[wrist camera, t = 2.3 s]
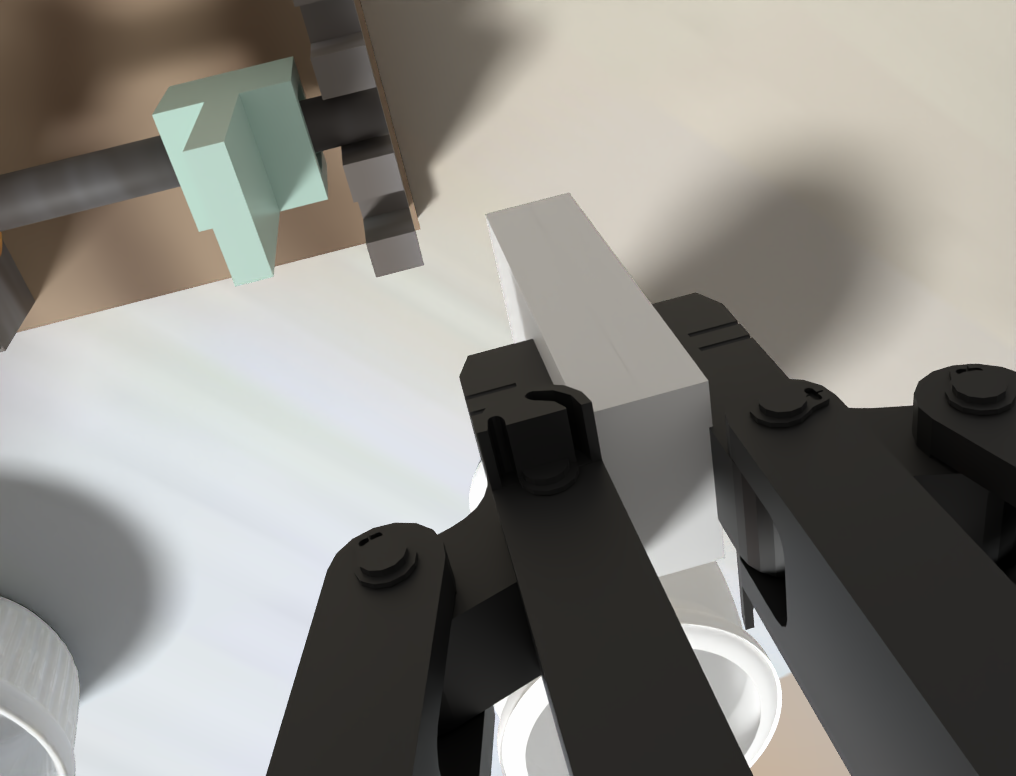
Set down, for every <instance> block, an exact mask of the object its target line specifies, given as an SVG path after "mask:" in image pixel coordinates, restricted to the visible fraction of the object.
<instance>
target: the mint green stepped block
mask: <svg viewBox="0 0 1016 776" xmlns="http://www.w3.org/2000/svg"><path fill="white" fill-rule="evenodd" d="M305 99H306V96H305V93H304V89H303V86H302V83H301V80H300V76H299V73H298V70H297V67H296V63H295V60H294V57H293V56H292V57H288V58H284V59H279V60H275V61H271V62H267V63H263V64H259V65H255V66H251V67H247V68H243V69H239V70H235V71H230V72H226V73H222V74H218V75H214V76H210V77H206V78H202V79H198V80H194V81H190V82H185V83H181V84H177V85H173V86H169V88H168V89H167V91H166V92H165V94H164V96H163V97H162V99H161V101H160V102H159V104H158V106H157V107H156V109H155V111H154V112H153V114H152V116H153V119H154V121H155V124H156V126H157V129H158V131H159V134H160V136H161V139H162V141H163V144H164V146H165V149H166V151H167V154H168V156H169V159H170V161H171V164H172V166H173V168H174V171H175V173H176V176H177V178H178V181H179V183H180V186H181V188H182V191H183V193H184V196H185V198H186V201H187V203H188V206H189V208H190V211H191V213H192V216H193V218H194V221H195V223H196V226H197V228H198V231H199V232H201V231H205V230H209V229H213V231H214V233H215V236H216V238H217V241H218V243H219V246H220V249H221V251H222V254H223V256H224V259H225V261H226V264H227V266H228V269H229V271H230V274H231V277H232V279H233V282H234V284H235V287H236V286H240V285H243V284H247V283H251V282H255V281H259V280H263V279H267V278H271V277H273V276H274V266H275V256H276V246H277V236H278V225H279V215H280V211H284V210H288V209H292V208H296V207H300V206H304V205H308V204H312V203H315V202H319V201H323V200H327V199H328V183H327V163H326V160H325V157H324V154H323V151H320V152H316V153H315V151H314V148H313V144H312V141H311V138H310V135H309V132H308V129H307V125H306V122H305V119H304V116H303V113H302V109H301V106H300V103H299V101H301V100H305Z"/></svg>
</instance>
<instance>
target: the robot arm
mask: <svg viewBox="0 0 1016 776" xmlns="http://www.w3.org/2000/svg"><path fill="white" fill-rule="evenodd" d="M485 216H486V220H487V225H488V229H489V234H490V238H491V243H492V247H493V252H494V256H495V261H496V265H497V270H498V274H499V279H500V283H501V288H502V292H503V297H504V301H505V306H506V310H507V315H508V319H509V324H510V328H511V333H512V337H513V342H514V344H511V345H507V346H503V347H499V348H496V349H492V350H488V351H484V352H481V353H477V354H473V355H469V356H468V357H467V360H466V362H465V364H464V367H463V369H462V371H461V374H460V376H459V378H460V381H461V385H462V389H463V393H464V396H465V400H466V404H467V408H468V412H469V415H470V419H471V423H472V427H473V430H474V434H475V438H476V442H477V446H478V449H479V453H480V457H481V460H482V464H483V468H484V471H485V475H486V478H487V488H486V492H485V495H484V497H483V499H482V500H481V502H480V503H479V505H478V506H477V508H476V509H475V510H473V511H472V512H471V513H470V514H469V515H468V516H467V517H466V518H465V519H463V520H462V521H460V522H459V523H457V524H456V525H454V526H453V527H451V528H449V529H447V530H445V531H444V532H442V533H440V534H438V535H437V534H436V533H435V531H434V530H432V529H430V528H427V527H425V526H422V525H419V524H417V523H392V524H388V525H384V526H380V527H376V528H372V529H371V530H369V531H367V532H365V533H363V534H361V535H359V536H357V537H355V538H353V539H352V540H351V541H350V542H349V543H348V544H346V545H345V546H344V547H343V548H342V549H341V550H340V551H339V552H338V553H337V554H336V555H335V557H334V559H333V561H332V563H331V565H330V566H329V568H328V570H327V573H326V576H325V580H324V583H323V586H322V590H321V593H320V596H319V600H318V603H317V606H316V610H315V613H314V617H313V620H312V623H311V627H310V630H309V633H308V637H307V640H306V643H305V647H304V650H303V653H302V657H301V660H300V663H299V667H298V670H297V673H296V677H295V680H294V683H293V687H292V690H291V693H290V697H289V700H288V704H287V707H286V710H285V714H284V717H283V720H282V724H281V727H280V730H279V734H278V737H277V740H276V744H275V747H274V750H273V754H272V757H271V760H270V764H269V767H268V770H267V774H266V776H491V764H492V750H493V737H494V723H495V713H494V706H493V705H494V704H496V703H497V702H499V701H501V700H502V699H504V698H505V697H507V696H509V695H510V694H512V693H513V692H515V691H517V690H518V689H520V688H521V687H523V686H525V685H526V684H528V683H529V682H531V681H533V680H534V679H536V678H537V677H539V676H541V677H542V681H543V684H544V688H545V691H546V695H547V698H548V702H549V705H550V709H551V713H552V716H553V720H554V723H555V727H556V730H557V734H558V737H559V741H560V744H561V748H562V752H563V755H564V759H565V762H566V766H567V769H568V773H569V776H753V774H752V772H751V770H750V768H749V766H748V763H747V761H746V759H745V757H744V755H743V753H742V751H741V749H740V747H739V745H738V743H737V741H736V738H735V736H734V734H733V732H732V730H731V728H730V726H729V724H728V722H727V720H726V718H725V715H724V713H723V711H722V709H721V707H720V705H719V703H718V701H717V699H716V697H715V695H714V692H713V690H712V688H711V686H710V684H709V682H708V680H707V678H706V676H705V674H704V672H703V670H702V667H701V665H700V663H699V661H698V659H697V657H696V655H695V653H694V651H693V649H692V647H691V644H690V642H689V640H688V638H687V636H686V634H685V632H684V630H683V628H682V626H681V624H680V622H679V619H678V617H677V615H676V613H675V611H674V609H673V607H672V605H671V603H670V601H669V599H668V596H667V594H666V592H665V590H664V588H663V586H662V584H661V582H660V580H659V578H658V577H660V576H664V575H667V574H671V573H674V572H678V571H681V570H685V569H688V568H692V567H695V566H699V565H702V564H706V563H710V562H713V561H717V560H720V559H724V558H725V552H724V541H723V531H722V527H723V528H724V530H725V532H726V533H727V535H728V537H729V538H730V540H731V542H732V543H733V545H734V547H735V548H736V551H737V563H738V575H739V586H740V598H741V610H742V618H743V621H744V625H745V629H746V630H747V629H750V628H754V618H753V608H755V610H756V611H757V613H758V615H759V617H760V618H761V620H762V622H763V623H764V625H765V627H766V629H767V630H768V632H769V634H770V636H771V637H772V639H773V641H774V643H775V644H776V646H777V648H778V650H779V651H780V653H781V655H782V656H783V658H784V660H785V662H786V663H787V665H788V667H789V669H790V670H791V672H792V674H793V676H794V677H795V679H796V681H797V682H798V684H799V686H800V687H801V689H802V691H803V693H804V695H805V696H806V698H807V700H808V702H809V703H810V705H811V707H812V708H813V710H814V712H815V714H816V715H817V717H818V719H819V721H820V722H821V724H822V726H823V727H824V729H825V731H826V733H827V734H828V736H829V738H830V740H831V741H832V743H833V745H834V747H835V748H836V750H837V752H838V754H839V755H840V757H841V759H842V760H843V762H844V764H845V766H846V767H847V769H848V771H849V773H850V774H851V776H1016V372H1015V371H1012V370H1009V369H1006V368H1003V367H999V366H990V365H982V364H967V365H953V366H950V367H946V368H943V369H940V370H936V371H933V372H931V373H930V374H929V375H927V376H926V377H924V378H923V379H922V380H920V381H919V382H918V385H917V387H916V390H915V392H914V400H913V406H900V407H884V408H848V407H847V406H846V405H845V404H844V403H843V402H842V401H841V400H840V399H839V398H838V397H837V396H836V395H835V394H834V393H832V392H831V391H829V390H828V389H826V388H825V387H823V386H822V385H818V384H815V383H812V382H808V381H805V380H796V379H789V378H788V377H787V376H786V375H785V374H784V372H783V371H782V370H781V369H780V368H779V367H778V366H777V365H776V363H775V362H774V361H773V360H772V359H771V358H770V357H769V356H768V355H767V353H766V352H765V351H764V350H763V349H762V348H761V347H760V346H759V344H758V343H757V342H756V341H755V340H754V339H753V338H750V335H749V333H748V332H747V331H746V330H745V329H744V328H743V327H742V325H741V324H738V322H737V320H736V319H735V318H734V316H733V315H732V314H731V313H730V312H729V311H728V310H727V309H726V307H725V306H724V305H723V304H722V303H719V302H717V301H714V300H712V299H710V298H707V297H705V296H703V295H700V294H698V293H693V294H689V295H685V296H681V297H678V298H674V299H670V300H666V301H663V302H659V303H655V304H651V303H650V301H649V300H648V298H647V297H646V296H645V294H644V293H643V292H642V290H641V289H640V288H639V286H638V285H637V284H636V282H635V281H634V280H633V278H632V277H631V276H630V274H629V273H628V271H627V270H626V269H625V267H624V266H623V265H622V263H621V262H620V261H619V259H618V258H617V257H616V255H615V254H614V253H613V251H612V250H611V248H610V247H609V246H608V244H607V243H606V242H605V240H604V239H603V238H602V236H601V235H600V234H599V232H598V231H597V230H596V228H595V227H594V225H593V224H592V223H591V221H590V220H589V219H588V217H587V216H586V215H585V213H584V212H583V211H582V209H581V208H580V207H579V205H578V204H577V203H576V201H575V200H574V198H573V197H572V196H571V194H570V193H566V194H562V195H558V196H554V197H550V198H546V199H542V200H538V201H535V202H531V203H527V204H523V205H519V206H515V207H511V208H507V209H504V210H500V211H496V212H492V213H488V214H485Z"/></svg>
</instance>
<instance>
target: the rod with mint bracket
mask: <svg viewBox="0 0 1016 776" xmlns="http://www.w3.org/2000/svg"><path fill="white" fill-rule="evenodd" d="M292 56H293V57H294V60H295V63H296V67H297V70H298V73H299V76H300V80H301V83H302V86H303V89H304V93H305V96H306V99H305V100H301V101H299V103H300V106H301V109H302V113H303V116H304V119H305V122H306V125H307V129H308V132H309V135H310V138H311V141H312V144H313V148H314V151H315V153H316V152H320V151H323V154H324V157H325V160H326V163H327V183H328V199H327V200H323V201H319V202H315V203H312V204H308V205H304V206H300V207H296V208H292V209H288V210H284V211H280V215H279V225H278V236H277V246H276V256H275V266H278V265H282V264H286V263H290V262H294V261H298V260H302V259H306V258H310V257H314V256H318V255H321V254H325V253H329V252H333V251H337V250H341V249H345V248H349V247H353V246H357V245H361V244H364V243H366V245H367V248H368V252H369V255H370V258H371V262H372V265H373V268H374V272H375V275H376V277H380V276H384V275H388V274H392V273H395V272H399V271H403V270H407V269H411V268H415V267H419V266H423V265H424V263H423V259H422V255H421V251H420V247H419V243H418V239H417V235H416V231H415V230H419V229H420V225H419V222H418V218H417V214H416V210H415V207H414V203H413V199H412V195H411V191H410V188H409V184H408V180H407V176H406V173H405V169H404V165H403V161H402V157H401V154H400V150H399V146H398V142H397V139H396V135H395V131H394V127H393V123H392V120H391V116H390V112H389V108H388V105H387V101H386V97H385V93H384V89H383V86H382V82H381V78H380V74H379V71H378V67H377V63H376V59H375V55H374V52H373V48H372V44H371V40H370V37H369V33H368V29H367V25H366V21H365V18H364V14H363V10H362V6H361V3H360V0H0V352H3V351H5V350H6V349H7V347H8V346H9V344H10V342H11V341H12V339H13V337H14V336H15V334H16V333H17V332H21V331H25V330H28V329H32V328H36V327H40V326H44V325H48V324H52V323H56V322H60V321H64V320H68V319H71V318H75V317H79V316H83V315H87V314H91V313H95V312H99V311H103V310H107V309H111V308H114V307H118V306H122V305H126V304H130V303H134V302H138V301H142V300H146V299H150V298H153V297H157V296H161V295H165V294H169V293H173V292H177V291H181V290H185V289H189V288H193V287H196V286H200V285H204V284H208V283H212V282H216V281H220V280H224V279H228V278H232V277H231V274H230V271H229V269H228V266H227V264H226V261H225V259H224V256H223V254H222V251H221V249H220V246H219V243H218V241H217V238H216V236H215V233H214V231H213V229H209V230H205V231H201V232H199V231H198V228H197V226H196V223H195V221H194V218H193V216H192V213H191V211H190V208H189V206H188V203H187V201H186V198H185V196H184V193H183V191H182V188H181V186H180V183H179V181H178V178H177V176H176V173H175V171H174V168H173V166H172V164H171V161H170V159H169V156H168V154H167V151H166V149H165V146H164V144H163V141H162V139H161V136H160V134H159V131H158V129H157V126H156V124H155V121H154V119H153V116H152V114H153V112H154V111H155V109H156V107H157V106H158V104H159V102H160V101H161V99H162V97H163V96H164V94H165V92H166V91H167V89H168V88H169V86H173V85H177V84H181V83H185V82H190V81H194V80H198V79H202V78H206V77H210V76H214V75H218V74H222V73H226V72H230V71H235V70H239V69H243V68H247V67H251V66H255V65H259V64H263V63H267V62H271V61H275V60H279V59H284V58H288V57H292ZM275 266H274V267H275Z"/></svg>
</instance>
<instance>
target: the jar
mask: <svg viewBox="0 0 1016 776" xmlns="http://www.w3.org/2000/svg"><path fill="white" fill-rule="evenodd" d="M486 488H487V478H486V475H485V471H484V468H483V464H482V460H481V462H480V463H479V465H478V467H477V469H476V471H475V474H474V476H473V479H472V482H471V487H470V494H469V504H470V511H471V512H472V511H473V510H475V509H476V508H477V506H478V505H479V503H480V502H481V500H482V499H483V497H484V495H485V492H486ZM658 578H659V580H660V582H661V584H662V586H663V588H664V590H665V592H666V594H667V596H668V599H669V601H670V603H671V605H672V607H673V609H674V611H675V613H676V615H677V617H678V619H679V622H680V624H681V626H682V628H683V630H684V632H685V634H686V636H687V638H688V640H689V642H690V644H691V647H692V649H693V651H694V653H695V655H696V657H697V659H698V661H699V663H700V665H701V667H702V670H703V672H704V674H705V676H706V678H707V680H708V682H709V684H710V686H711V688H712V690H713V692H714V695H715V697H716V699H717V701H718V703H719V705H720V707H721V709H722V711H723V713H724V715H725V718H726V720H727V722H728V724H729V726H730V728H731V730H732V732H733V734H734V736H735V738H736V741H737V743H738V745H739V747H740V749H741V751H742V753H743V755H744V757H745V759H746V761H747V763H748V766H749V768H750V767H751V766H752V765H753V764H754V763H755V762H756V761H757V759H758V758H759V757H760V755H761V754H762V753H763V751H764V750H765V748H766V747H767V745H768V744H769V742H770V740H771V738H772V736H773V734H774V732H775V729H776V727H777V724H778V721H779V717H780V713H781V712H780V711H781V705H782V692H781V686H780V681H779V678H778V675H777V673H776V671H775V669H774V667H773V665H772V664H771V662H770V660H769V658H768V656H767V654H766V653H765V651H764V650H763V648H762V647H761V646H760V645H759V644H758V642H757V641H756V640H755V639H754V638H753V637H752V636H751V635H750V634H748V633H747V632H746V631H745V630H743V628H742V625H741V621H740V618H739V615H738V611H737V608H736V606H735V603H734V600H733V597H732V595H731V592H730V590H729V587H728V585H727V583H726V580H725V578H724V576H723V574H722V572H721V570H720V568H719V566H718V564H717V562H716V561H713V562H710V563H706V564H702V565H699V566H695V567H692V568H688V569H685V570H681V571H678V572H674V573H671V574H667V575H664V576H660V577H658ZM494 707H495V710H496V712H497V714H498V716H499V718H500V721H499V726H498V734H497V747H498V755H499V760H500V764H501V768H502V773H503V776H569V773H568V769H567V766H566V762H565V759H564V755H563V752H562V748H561V744H560V741H559V737H558V734H557V730H556V727H555V723H554V720H553V716H552V713H551V709H550V705H549V702H548V698H547V695H546V691H545V688H544V684H543V681H542V677H541V676H539V677H537V678H536V679H534V680H533V681H531V682H529V683H528V684H526V685H525V686H523V687H521V688H520V689H518V690H517V691H515V692H513V693H512V694H510V695H509V696H507V697H505V698H504V699H502V700H501V701H499V702H497V703H496V704H494Z"/></svg>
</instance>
